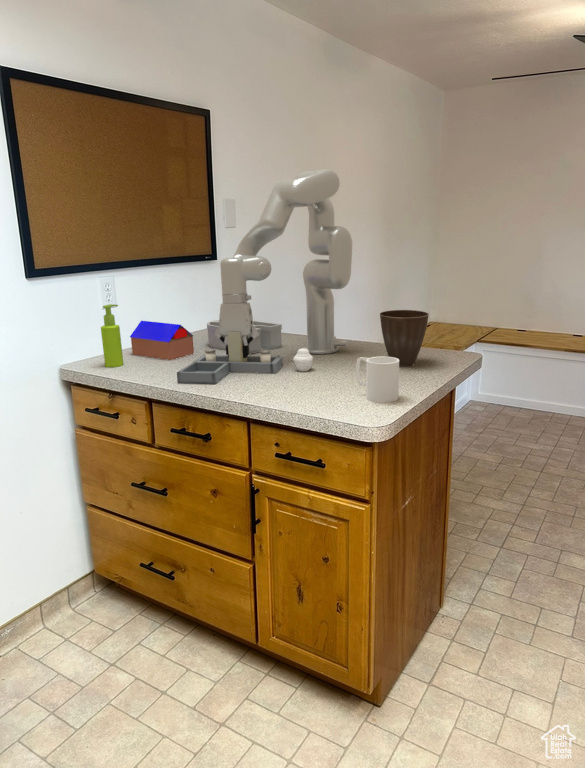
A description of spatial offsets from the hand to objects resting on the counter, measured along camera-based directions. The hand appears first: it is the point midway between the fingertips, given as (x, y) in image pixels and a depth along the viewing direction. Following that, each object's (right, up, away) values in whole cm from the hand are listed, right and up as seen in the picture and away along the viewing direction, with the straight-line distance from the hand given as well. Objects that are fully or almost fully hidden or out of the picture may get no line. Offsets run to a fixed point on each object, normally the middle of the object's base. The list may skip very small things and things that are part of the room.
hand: (237, 356), depth 185 cm
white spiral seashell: (+21, -5, -3) cm, 21 cm away
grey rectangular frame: (0, -4, +1) cm, 4 cm away
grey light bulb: (-9, -4, +3) cm, 10 cm away
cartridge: (+9, -4, -1) cm, 10 cm away
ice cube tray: (-2, +5, +34) cm, 35 cm away
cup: (+39, -12, -33) cm, 52 cm away
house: (-29, +2, +25) cm, 38 cm away
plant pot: (+52, -2, +1) cm, 52 cm away
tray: (-9, -7, -9) cm, 14 cm away
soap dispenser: (-42, -2, +11) cm, 43 cm away
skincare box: (0, -4, +1) cm, 4 cm away
